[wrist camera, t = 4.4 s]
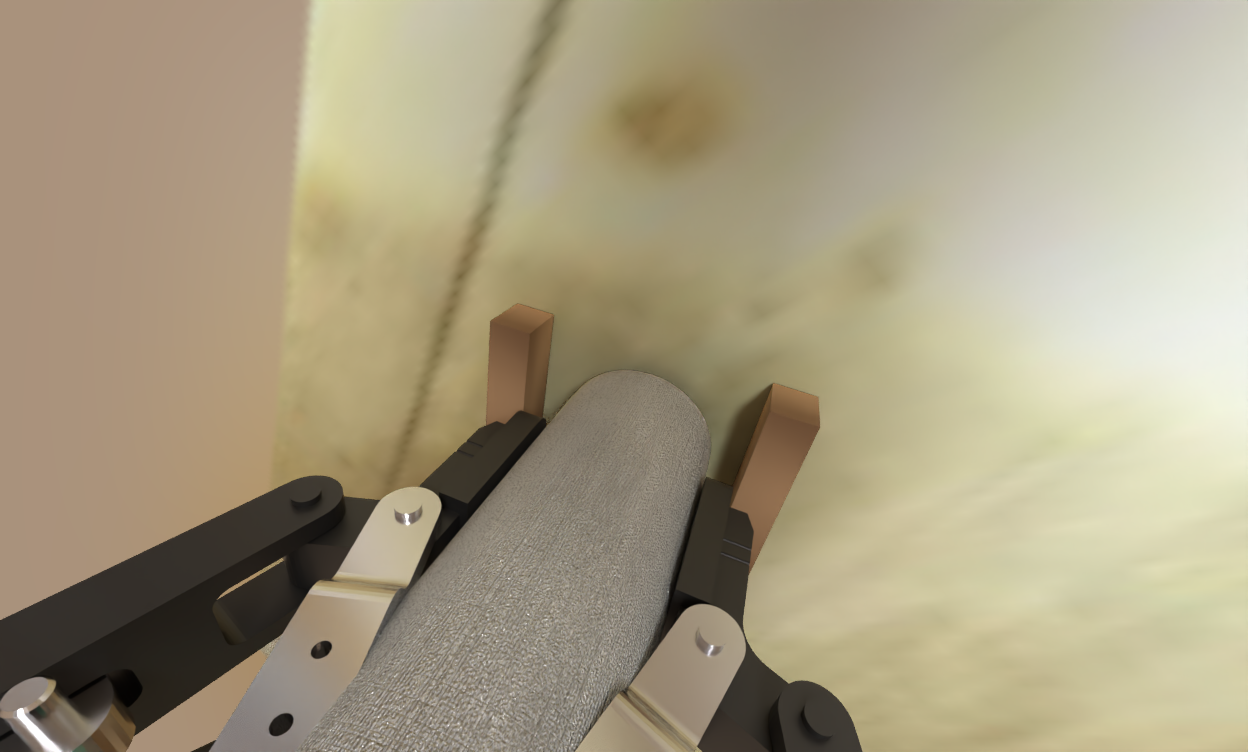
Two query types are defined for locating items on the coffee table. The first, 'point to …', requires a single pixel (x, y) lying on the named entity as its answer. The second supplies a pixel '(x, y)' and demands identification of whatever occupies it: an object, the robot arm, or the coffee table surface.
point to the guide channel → (769, 455)
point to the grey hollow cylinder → (540, 587)
